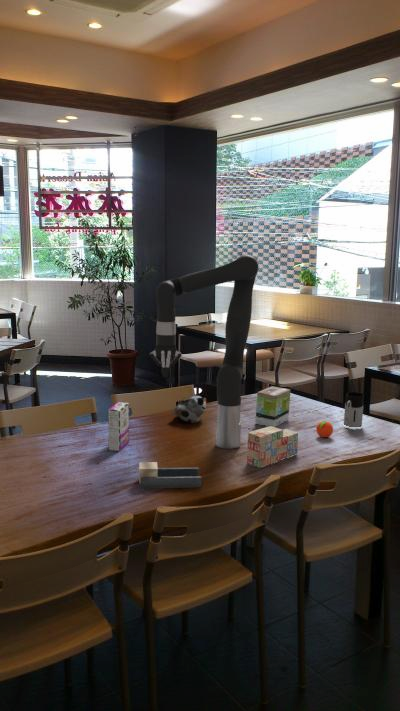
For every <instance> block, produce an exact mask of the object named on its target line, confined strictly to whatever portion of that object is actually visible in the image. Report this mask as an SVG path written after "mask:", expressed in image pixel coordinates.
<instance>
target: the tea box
mask: <svg viewBox="0 0 400 711" xmlns="http://www.w3.org/2000/svg"><path fill="white" fill-rule="evenodd" d="M256 393H257V394H256V395H257V396H256V408H255V420H254V422H255V425H256V424H257V425H261V426H264V425H265V427H269V426H272V427H275V428H277V426H279V425H281V424H282V423H285V422H287V421H288V420H289V414H290V404H291V403H290V402H291V388H290V389H289V388H283V387H279V386H278V387H277V386H269V387H266V388H264V389H262V390H260V391H257V392H256ZM287 419H288V420H287ZM286 420H287V421H286ZM284 421H285V422H284Z"/></svg>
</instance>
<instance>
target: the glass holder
mask: <svg viewBox="0 0 400 711" xmlns="http://www.w3.org/2000/svg"><path fill="white" fill-rule="evenodd" d="M364 397H365V395H364V393H361V392H358V391H355V392H354V391H350V392H346V395H345V403H344V414H343V416H344V417H343V424H344V425H346V426H349V427H361V426H362V427H363V414H364V401H365V400H364Z"/></svg>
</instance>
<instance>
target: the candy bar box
mask: <svg viewBox="0 0 400 711" xmlns="http://www.w3.org/2000/svg"><path fill="white" fill-rule="evenodd" d="M129 404H130V403H129V402H125V401H124V402H121V401H117V402H116V403H115V404H114V405H113V406H111V407H110V408H108V409H107V410H108V413H107V414H108V415H107V416H108V417H107V418H108V419H107V420H108V422H107V425H108V451H112V452H113V451H114V452H121V451H123V449H124V448H125V446H126V445H128V444H129V443H130V423H129V422H130V413H129V412H130V409H129V407H130V406H129Z"/></svg>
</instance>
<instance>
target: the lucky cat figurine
mask: <svg viewBox="0 0 400 711" xmlns="http://www.w3.org/2000/svg"><path fill="white" fill-rule="evenodd" d="M206 407H207V397H202V396H200V395H193V396H190V397H189V398H188V400H187V401H186V399H182V400H181V403H180V404H177V405H176V406H175V408H174V409H173V410H172V411H171V413H172V414H173V415H175V416H177V417H179V419H181V420H182V421H185V422H187V423H188V422H189V424H191V425H192V424H193V425H194V424H196V423H198V422H199V421H200V418H201V416H202V415H203V414H204V412H206Z"/></svg>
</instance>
